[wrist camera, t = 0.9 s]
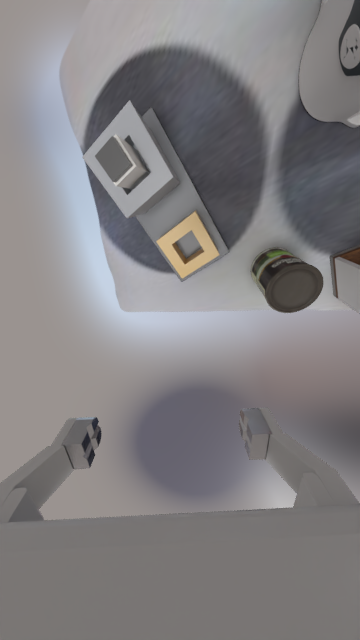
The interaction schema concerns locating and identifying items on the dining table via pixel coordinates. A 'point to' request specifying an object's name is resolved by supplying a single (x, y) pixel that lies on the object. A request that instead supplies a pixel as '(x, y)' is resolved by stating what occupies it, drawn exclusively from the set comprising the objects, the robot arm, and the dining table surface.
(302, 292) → the coffee can
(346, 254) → the striped beige pillar
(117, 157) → the plug
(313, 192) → the dining table surface
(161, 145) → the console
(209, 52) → the dining table surface
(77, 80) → the dining table surface
